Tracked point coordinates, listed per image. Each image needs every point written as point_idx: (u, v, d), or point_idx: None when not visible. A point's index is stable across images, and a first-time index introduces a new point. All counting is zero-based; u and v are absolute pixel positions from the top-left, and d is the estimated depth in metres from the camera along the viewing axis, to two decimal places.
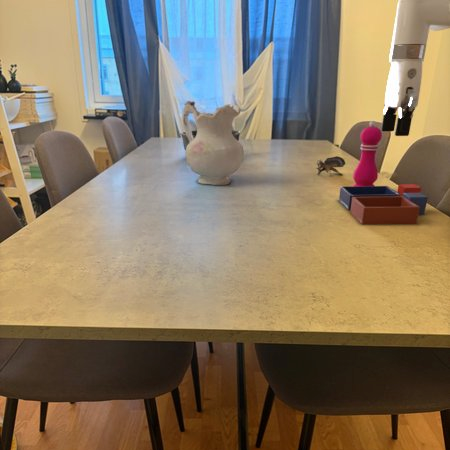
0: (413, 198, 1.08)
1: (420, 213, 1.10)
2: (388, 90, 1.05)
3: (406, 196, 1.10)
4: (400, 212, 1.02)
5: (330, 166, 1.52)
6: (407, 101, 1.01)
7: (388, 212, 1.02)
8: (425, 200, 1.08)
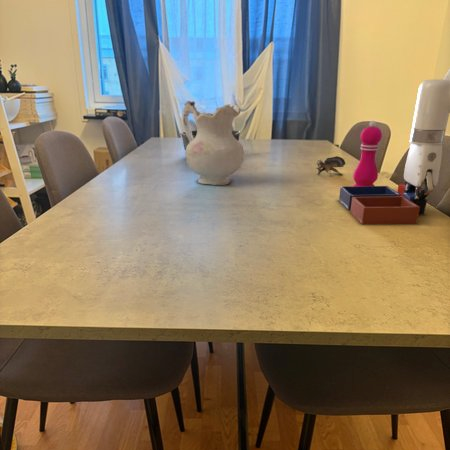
0: (413, 198, 1.08)
1: None
2: (407, 167, 1.09)
3: (406, 196, 1.10)
4: (400, 212, 1.02)
5: (330, 166, 1.52)
6: (425, 182, 1.06)
7: (388, 212, 1.02)
8: None
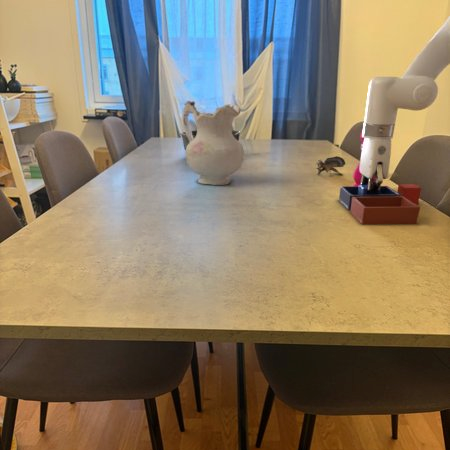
0: (366, 189, 1.14)
1: None
2: (362, 160, 1.15)
3: (361, 188, 1.16)
4: (400, 212, 1.02)
5: (330, 166, 1.52)
6: None
7: (388, 212, 1.02)
8: None
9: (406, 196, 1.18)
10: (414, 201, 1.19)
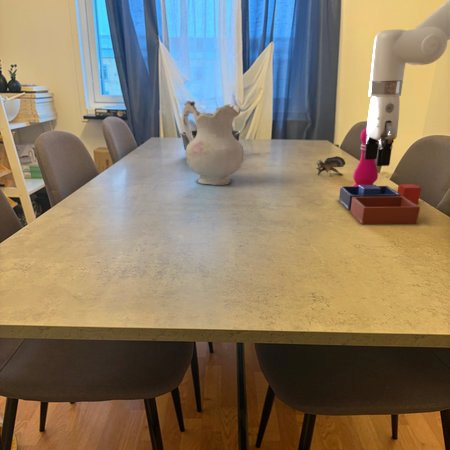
0: (367, 189, 1.14)
1: None
2: (369, 122, 1.10)
3: (361, 188, 1.16)
4: (400, 212, 1.02)
5: (330, 166, 1.52)
6: (387, 133, 1.06)
7: (388, 212, 1.02)
8: (378, 191, 1.14)
9: (406, 196, 1.18)
10: (414, 201, 1.19)
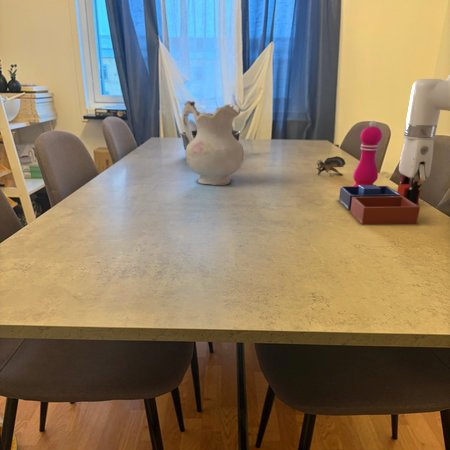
0: (367, 189, 1.14)
1: None
2: (402, 160, 1.18)
3: (361, 188, 1.16)
4: (400, 212, 1.02)
5: (330, 166, 1.52)
6: None
7: (388, 212, 1.02)
8: (378, 191, 1.14)
9: None
10: None
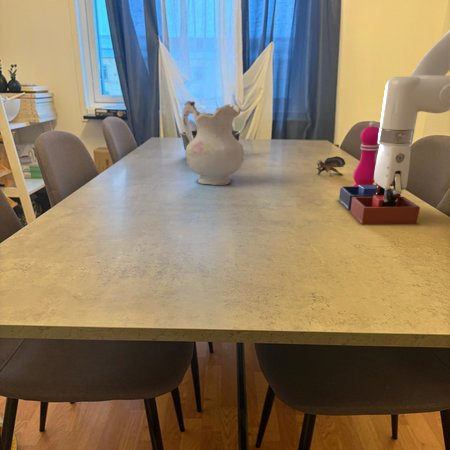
0: (367, 189, 1.14)
1: None
2: (377, 169, 1.04)
3: (361, 188, 1.16)
4: (400, 212, 1.02)
5: (330, 166, 1.52)
6: None
7: (388, 212, 1.02)
8: None
9: None
10: None
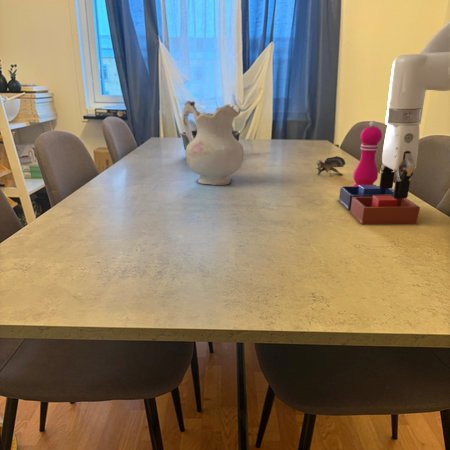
0: (367, 189, 1.14)
1: None
2: (385, 150, 1.03)
3: (361, 188, 1.16)
4: (400, 212, 1.02)
5: (330, 166, 1.52)
6: (405, 164, 0.99)
7: (388, 212, 1.02)
8: (378, 191, 1.14)
9: None
10: None
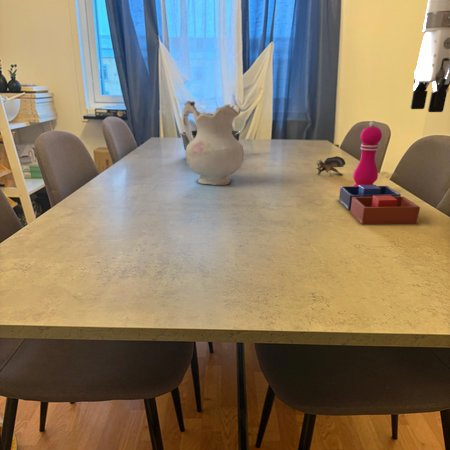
0: (367, 189, 1.14)
1: None
2: (420, 63, 0.98)
3: (361, 188, 1.16)
4: (400, 212, 1.02)
5: (330, 166, 1.52)
6: (442, 74, 0.94)
7: (388, 212, 1.02)
8: (378, 191, 1.14)
9: None
10: None
